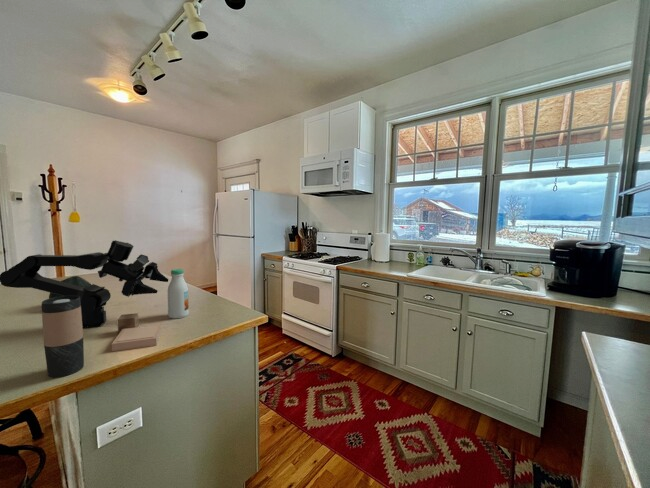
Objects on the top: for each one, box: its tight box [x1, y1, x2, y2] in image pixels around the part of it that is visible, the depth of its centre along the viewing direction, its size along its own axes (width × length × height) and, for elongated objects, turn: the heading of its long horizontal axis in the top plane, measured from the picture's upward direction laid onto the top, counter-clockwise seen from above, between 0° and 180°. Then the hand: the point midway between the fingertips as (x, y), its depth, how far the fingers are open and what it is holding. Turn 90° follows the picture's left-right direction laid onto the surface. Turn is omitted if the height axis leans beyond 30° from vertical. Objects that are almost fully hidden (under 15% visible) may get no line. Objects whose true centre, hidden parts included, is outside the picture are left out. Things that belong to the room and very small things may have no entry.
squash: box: [48, 275, 92, 299], centre depth 122 cm, size 14×15×15 cm
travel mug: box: [41, 296, 85, 379], centre depth 73 cm, size 8×8×20 cm
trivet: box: [111, 324, 163, 352], centre depth 92 cm, size 12×12×3 cm
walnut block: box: [117, 312, 140, 336], centre depth 98 cm, size 5×5×6 cm
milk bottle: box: [167, 268, 190, 319], centre depth 114 cm, size 8×8×20 cm
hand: (162, 286), depth 108 cm, fingers open, 9 cm apart
